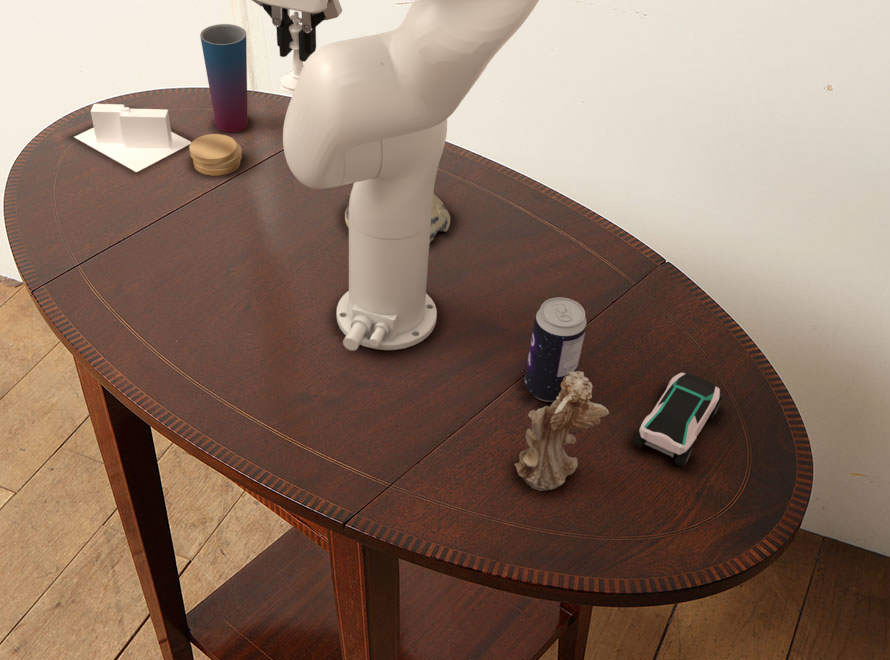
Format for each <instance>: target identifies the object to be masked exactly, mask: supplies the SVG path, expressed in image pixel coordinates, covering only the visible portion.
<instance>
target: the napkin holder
mask: <svg viewBox="0 0 890 660" xmlns="http://www.w3.org/2000/svg"><path fill="white" fill-rule="evenodd" d="M90 116H91V120H92V125H93V127H92V128H89V129H87V130H86V131H83V132H81V133H79V134H77V135H75V136H74V138H75V139H76V140H78V141H80V142H81V143H84V144H85V145H87V146H88V147H91V148H92V149H94V150H96V151H97V152H100V153H101V154H103V155H104V156H107V157H108V158H110V159H112V160H114V161H115V162H117V163H119V164H121V165H122V166H125V167H126V168H128V169H130V170H132V171H133V172H134V173H138V172H140V171H141V170H145V169H146V168H148V167H149V166H152V165H153V164H155V163H157V162H159V161H160V160H162V159H164V158H167V157H168V156H170V155H172V154H174V153H176V152H178V151H180V150H182V149H184V148H185V147H188V146H190V144H191V142H192V141H190V140H188V139H187V138H184V137H183V136H181V135H179V134H177V133H175V132H173V131H172V128H171V121H170V113H169V109H161V108H160V109H159V108H158V109H157V108H130V107H129V106H125V104H121V103H119V104H117V103H93V105H92V107H91V109H90Z"/></svg>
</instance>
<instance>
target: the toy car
mask: <svg viewBox="0 0 890 660" xmlns="http://www.w3.org/2000/svg"><path fill="white" fill-rule="evenodd" d="M720 392H721V391H720V388H719V387H718V386H716V384H715V383H713V382H711V381H709V380H708V379H705V378H702V377H700V376H698V375H695V374H693V373H689V372H687V373H685V372H680V373H677V374H675V375H674V376H673V377H672V378H671V379H670V380H669V382H668V384H667V386H666V389H665V391H664V392H663V393H662V395H661V396H660V398H659V400H658V401H657V402H656V404H655V405H654V408H653V409H652V411H651V412H650V413H649V414H648V415H646V416H645V418H644V419H643V421H642V423H641V425H640V426H639V428H638V430H637V432H636V435H634V440H633V445H634V446H635V447H637V448H641V449H642V448H644V446H647V447H650V448H652V449H654V450H656V451H658V452H661V453H663V454H664V455H667V456H669V457H671V458H674V457H675V455H677V456H676V457H675V461H674V464H675V465H677V466H679V467H681V468H684V467H685V466H686V465H687V463H688V461H689V460H690V457H691V455H692V453H693V450H694V448H695V444H694V443H695V441H696V440H697V436H698V435H699V434H700V432H701V431H702V429H703V428H704V426H705V424H706V423H707V421H708V419H714V417H715V415H716V414H717V412H718V410H719V408H720V406H721V403H722V401H723V396H721V393H720Z"/></svg>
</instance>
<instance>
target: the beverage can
mask: <svg viewBox="0 0 890 660" xmlns="http://www.w3.org/2000/svg"><path fill="white" fill-rule="evenodd" d="M587 327H588V321H587V318H586V310H585V309H584V307H583V306H582V304H580V303H579V302H577V301H576V300H574V299H571V298H568V297H561V296H560V297H557V296H556V297H552V298H549V299H546V300H545V301H544V302H543V303H542V304H541V305H540V308H539V309H538V310H537V312H536V313H535V316H534V321H533V328H532V333H531V334H532V335H531V338H530V345H529V351H528V356H527V362H526V369H525V374H524V381H523V383H524V384H523V385H524V387H525V388H526V390H527V392H528V393H529V394H531V395H532V396H533V397H534V398H535V399H538V400H540V401H542V402H547V403H553V402H554V401H555V400H556V397H558V396H559V393H560V392H561V390H562V388H561V383H562V381H563V379H564V377H565V376H568V375H569V374H568V373H569V372H570V371H574V372H576V371H578V367H579V362H580V358H581V354H582V349H583V345H584V341H585V335H586V331H587Z"/></svg>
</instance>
